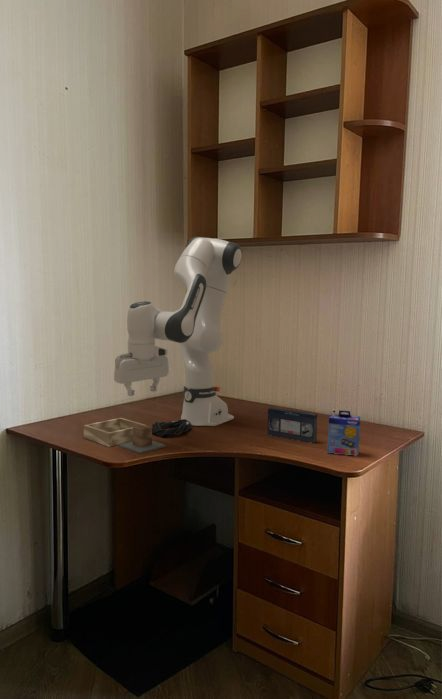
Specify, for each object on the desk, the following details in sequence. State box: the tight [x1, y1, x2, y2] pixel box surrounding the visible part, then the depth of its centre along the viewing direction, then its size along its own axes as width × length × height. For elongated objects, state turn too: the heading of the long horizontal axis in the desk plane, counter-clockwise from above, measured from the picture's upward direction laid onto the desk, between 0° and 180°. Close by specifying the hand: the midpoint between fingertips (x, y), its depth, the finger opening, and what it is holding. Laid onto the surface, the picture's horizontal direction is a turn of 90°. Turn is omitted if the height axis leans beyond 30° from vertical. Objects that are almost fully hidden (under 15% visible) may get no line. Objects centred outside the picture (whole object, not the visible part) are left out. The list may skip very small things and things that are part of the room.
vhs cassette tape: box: [267, 407, 318, 444], centre depth 193 cm, size 18×3×10 cm, turn 55°
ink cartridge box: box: [327, 409, 361, 457], centre depth 177 cm, size 10×6×14 cm, turn 73°
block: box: [133, 424, 153, 448], centre depth 181 cm, size 4×4×6 cm
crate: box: [83, 417, 148, 448], centre depth 192 cm, size 16×15×4 cm
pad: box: [118, 440, 167, 454], centre depth 182 cm, size 11×11×1 cm
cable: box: [151, 418, 193, 438], centre depth 201 cm, size 17×14×4 cm
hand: (142, 393), depth 180 cm, fingers open, 8 cm apart
